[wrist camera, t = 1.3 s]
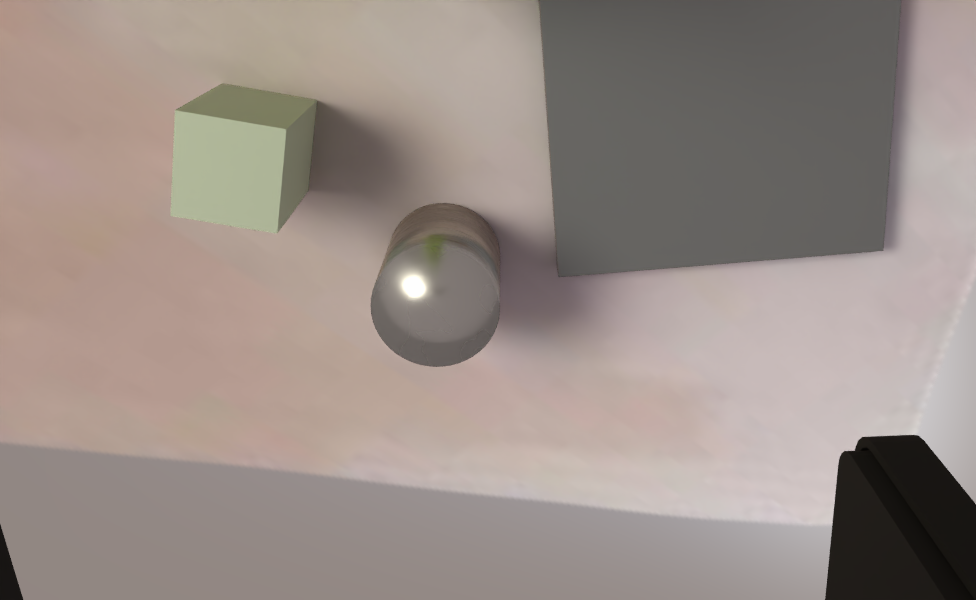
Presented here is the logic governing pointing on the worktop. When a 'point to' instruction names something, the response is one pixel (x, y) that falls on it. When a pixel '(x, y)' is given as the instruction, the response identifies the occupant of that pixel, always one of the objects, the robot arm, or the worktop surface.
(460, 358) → the metal tin
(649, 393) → the worktop surface
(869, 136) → the plate
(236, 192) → the pale green box
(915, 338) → the worktop surface
